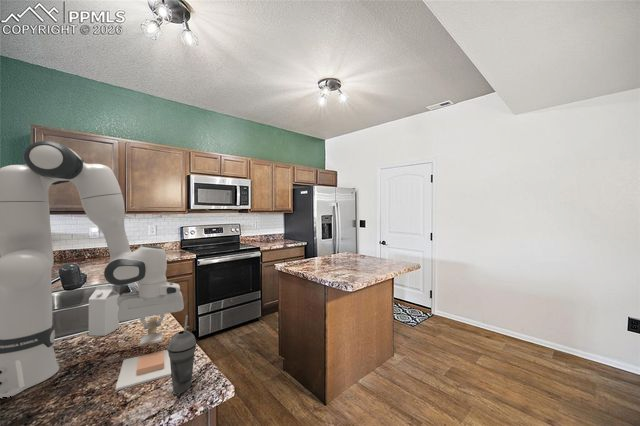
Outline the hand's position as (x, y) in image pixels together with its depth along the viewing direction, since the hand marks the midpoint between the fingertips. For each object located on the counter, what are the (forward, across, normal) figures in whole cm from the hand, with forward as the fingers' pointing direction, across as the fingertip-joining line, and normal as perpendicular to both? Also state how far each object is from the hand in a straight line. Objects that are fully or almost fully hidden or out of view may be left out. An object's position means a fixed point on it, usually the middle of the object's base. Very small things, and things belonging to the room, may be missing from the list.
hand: (152, 327), depth 95 cm
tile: (+6, 0, -14) cm, 15 cm away
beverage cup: (+8, +8, -30) cm, 32 cm away
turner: (+2, 0, -2) cm, 2 cm away
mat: (+8, -1, -14) cm, 16 cm away
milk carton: (+8, -18, +27) cm, 33 cm away
